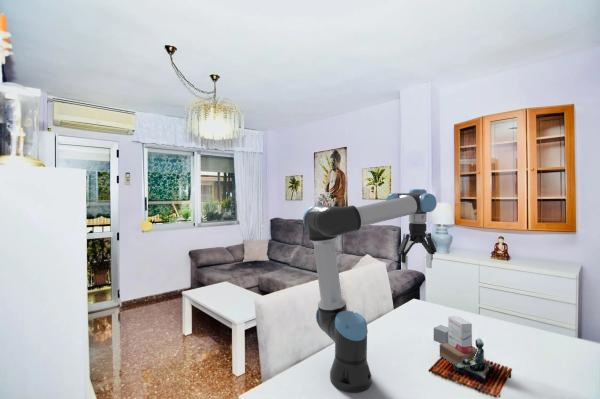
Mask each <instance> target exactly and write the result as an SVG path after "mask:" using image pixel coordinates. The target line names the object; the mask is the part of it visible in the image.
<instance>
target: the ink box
mask: <svg viewBox="0 0 600 399" xmlns="http://www.w3.org/2000/svg"><path fill="white" fill-rule="evenodd" d="M447 322H448V323H447V325H448V326H447V327H448V343H449V344H450V345H451V346H453V347H454V348H456V349H457V350H459V351H460V352H462V353H469V352H472V346H473V331H472V330H473V329H472V328H473V327H472V325H473V324H472V323H471V322H469V320H468V321H467V320H465V319H464V318H462V317H461V316H458V315H454V316H453V315H451V316H448V317H447Z"/></svg>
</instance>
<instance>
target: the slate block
mask: <svg viewBox="0 0 600 399" xmlns="http://www.w3.org/2000/svg"><path fill="white" fill-rule="evenodd" d="M433 341H434V342H437V343H439V344H445V343H448V326H446V325H443V324H439V325H437V326H435V327H433Z"/></svg>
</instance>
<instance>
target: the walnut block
mask: <svg viewBox="0 0 600 399" xmlns="http://www.w3.org/2000/svg"><path fill="white" fill-rule="evenodd" d="M477 350H479V349H478V348H476V347H474V346H473V345H472V352H469V353H462V352H460V351H459V350H457V349H456V348H454V347H453V346H451V345H450V344H449V343H445V344H441V343H439V357H440V358H442V357H443V358H444V359H443V358H442V359H443V360H445V359H446V360H447V361H446V360H445V361H446V362H448V361H449V362H450V363H449V362H448V363H449V364H451V363H452V364H453V365H452V364H451V365H452V366H454V364H456V363H461V362H462V361H463V360H464V359H471V358H473V357H474V356H475V354H476V352H477Z"/></svg>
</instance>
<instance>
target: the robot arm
mask: <svg viewBox="0 0 600 399" xmlns="http://www.w3.org/2000/svg"><path fill="white" fill-rule="evenodd" d="M436 198H437V197H436V196H435V195H434V194H432V193H428V192H427V190H426V189H425V188H422V189H421V188H420V189H419V188H414V189H413V188H412V189H409V192H408V193H404V192H401V193H400V192H399V193H398V192H393V193H388V195H387V196H386V199H385V200H384V201H383V200H382V201H378V202H375V203H370V204H365V205H361V206H355V205H347V206H334V205H333V206H332V205H323V204H316V205H312V206H310V207H309V208H307V209H306V211H305V212H304V214H303V217H302V223H303V227H304V228H305V229H306V231H307V232H308V233H307V234H308V241H309V242H310V243H312V244H313V249H314V257H315V258H314V259H315V264H316V265H315V266H316V272H317V274H316V275H317V281H318V287H319V288H318V289H319V295H320V296H319V298H320V300H319V301H318V303H317V309H316V312H315V320H316V323H317V325H318V327H319V328H320V330H322V331H323V332H324V333H325V334H326V335H327V336H328V337H329V338H330V339H331V340H332V341H333V342H334V345H335V346H334V358H333V360H332V361H333V362H332V364H331V365H332V366H331V368H330V370H329V380H330V382H331V384H332V385H333V386H334V387H336V388H337V389H339V390H341V391H343V392H347V393H361V392H364V391H366V390H368V389H369V388H370V387H371V386H372V373H371V370H370V366H369V363H368V333H369V332H368V322H367V320H366V318H365V317H364V316H363V315H362V314H360V313H358V312H354V311H353V310H352V311H351V310H348V308H347V302H346V299H345V298H343V297H342V291H341V284H340V283H341V282H340V276H339V269H338V258H337V253H336V252H337V251H336V245H335V244H336V243H335V241H336V240H337V238H338V237H340V236H342V235H347V234H350V233H354V232H359V231H360V230H361V229H362V227H366V226H371V225H374V224H377V223H383V222H386V221H391V220H394V219H397V218H398V219H399V218H401V217H406V216H408V222H409V223H408V231H409V233H403V237H402V240H401V243H400V245H399V247H398V250H397V251H396V252H397V254H398V255H400V256H401V257H400V262H401V264H402V265H401V268H402V270H403V271H408V266H409V265H408V264H409V262H408V261H409V259H408V258H409V257H408V253H409V252H410V250H411V249H412V247H413V246H414V245H415V244H421V245H422V247H423V248H424V249H425V251H426V253H425V267H426V268H428V269H432V266H433V265H432V264H433V259H434V258H433V256H434V255H435V253H437V249H436V245H435V243H434V241H433V238H432V233H431V232H427V219H428V218H427V217H428V216H427V215H428V214H427V213H432V212H433V211H435V209H436V207H437V204H438V203H437V199H436Z"/></svg>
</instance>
